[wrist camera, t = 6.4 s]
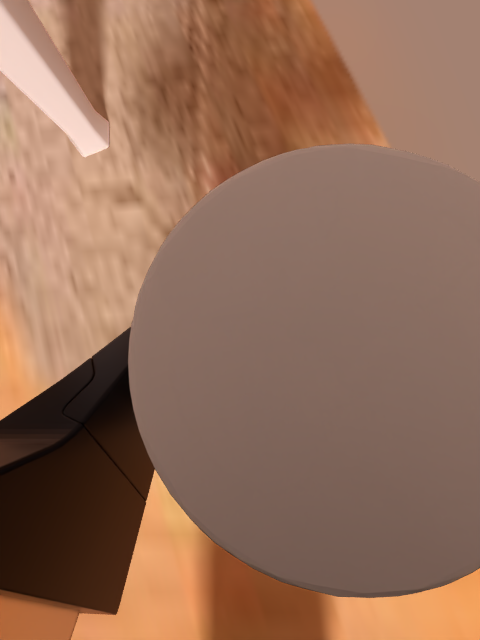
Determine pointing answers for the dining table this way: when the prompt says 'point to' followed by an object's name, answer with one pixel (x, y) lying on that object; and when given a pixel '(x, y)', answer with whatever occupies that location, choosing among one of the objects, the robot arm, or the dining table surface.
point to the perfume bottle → (47, 77)
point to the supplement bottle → (322, 369)
